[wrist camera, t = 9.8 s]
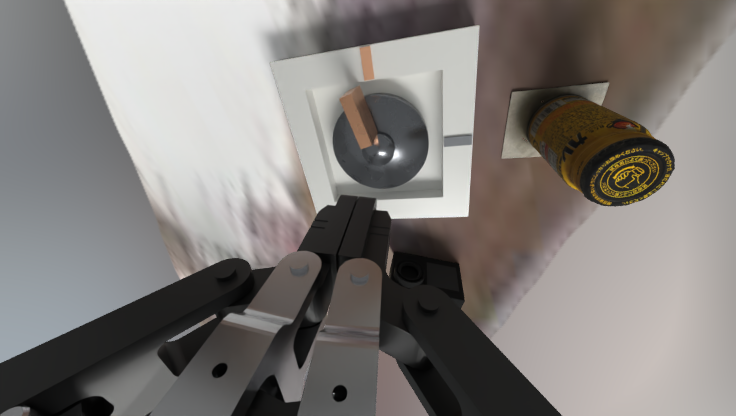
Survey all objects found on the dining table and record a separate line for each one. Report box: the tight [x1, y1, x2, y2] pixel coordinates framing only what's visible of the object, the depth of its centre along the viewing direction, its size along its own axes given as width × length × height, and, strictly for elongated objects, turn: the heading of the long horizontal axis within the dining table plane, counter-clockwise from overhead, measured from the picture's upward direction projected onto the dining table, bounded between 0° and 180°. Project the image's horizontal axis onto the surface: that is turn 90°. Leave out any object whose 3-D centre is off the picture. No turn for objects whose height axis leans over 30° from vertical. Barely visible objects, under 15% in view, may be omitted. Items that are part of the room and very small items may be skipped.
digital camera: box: [389, 252, 465, 309], centre depth 40 cm, size 10×5×7 cm, turn 84°
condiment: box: [502, 83, 675, 206], centre depth 23 cm, size 7×8×12 cm
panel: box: [270, 25, 479, 219], centre depth 31 cm, size 20×20×3 cm
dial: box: [333, 85, 429, 189], centre depth 29 cm, size 12×11×6 cm
